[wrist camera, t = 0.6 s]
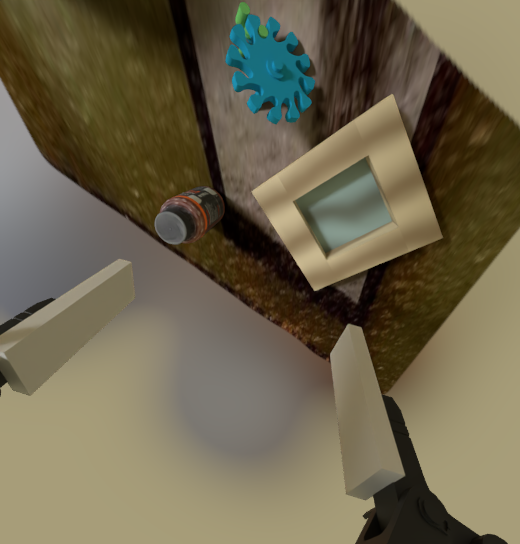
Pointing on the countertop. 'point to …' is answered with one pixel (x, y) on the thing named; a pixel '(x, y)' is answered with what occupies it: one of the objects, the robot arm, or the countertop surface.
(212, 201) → the supplement bottle
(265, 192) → the socket holder
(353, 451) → the robot arm
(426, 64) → the countertop surface
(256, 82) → the gear
